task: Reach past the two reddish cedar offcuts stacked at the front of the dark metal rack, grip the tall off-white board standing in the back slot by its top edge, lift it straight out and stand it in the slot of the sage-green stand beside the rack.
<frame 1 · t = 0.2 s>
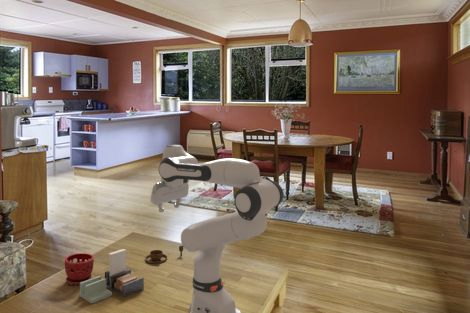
hand: (169, 209, 179), 39 cm above the table, tool pointing down, fingers open, 8 cm apart
place setting: (163, 260, 220), on the table
offcut rack: (124, 287, 187), on the table
sheet stand: (95, 295, 179), on the table
offcut lower: (126, 286, 185), point 1 cm above the table, touching offcut rack, offcut upper
tall sheet: (118, 281, 189), point 1 cm above the table, touching offcut rack
offcut upper: (126, 282, 185), point 3 cm above the table, touching offcut lower
plant pot: (80, 281, 193), on the table
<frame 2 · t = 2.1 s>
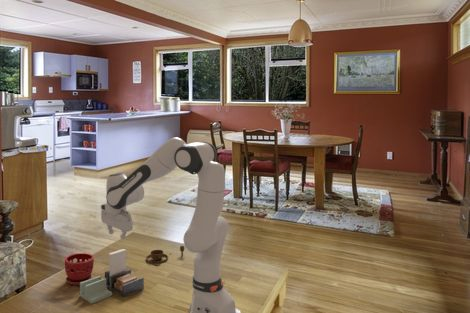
hand: (117, 236, 186), 24 cm above the table, tool pointing down, fingers open, 8 cm apart
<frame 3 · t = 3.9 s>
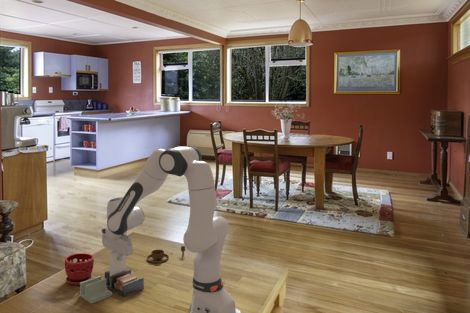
hand: (117, 259, 188), 13 cm above the table, tool pointing down, fingers closed on tall sheet, 2 cm apart
tall sheet: (118, 281, 189), point 2 cm above the table, touching gripper, offcut rack
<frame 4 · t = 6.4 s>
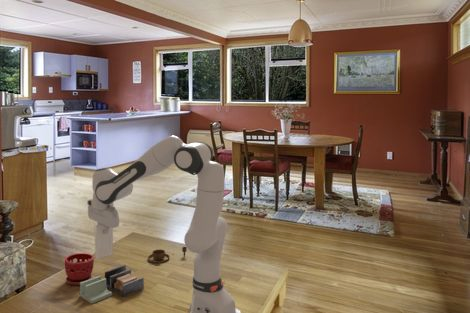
hand: (103, 232, 181), 28 cm above the table, tool pointing down, fingers closed on tall sheet
tall sheet: (104, 255, 182), point 16 cm above the table, touching gripper
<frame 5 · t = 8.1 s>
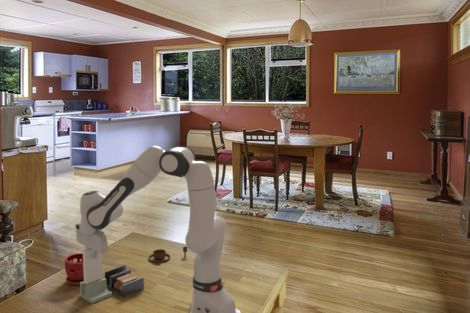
hand: (92, 256, 177), 18 cm above the table, tool pointing down, fingers closed on tall sheet
tall sheet: (93, 280, 179), point 7 cm above the table, touching gripper
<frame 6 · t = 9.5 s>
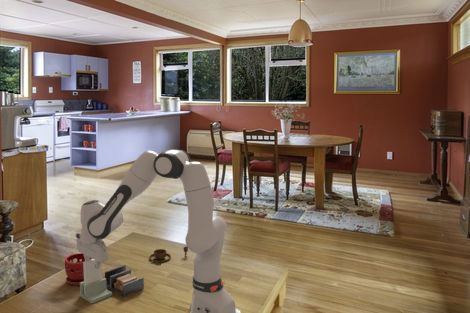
hand: (92, 265, 178), 14 cm above the table, tool pointing down, fingers open, 6 cm apart
tall sheet: (93, 291, 180), point 2 cm above the table, touching sheet stand
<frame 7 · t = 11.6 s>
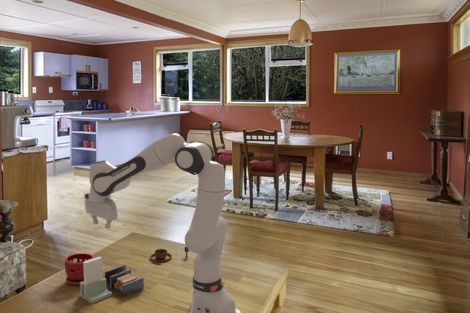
hand: (101, 225, 180), 31 cm above the table, tool pointing down, fingers open, 8 cm apart
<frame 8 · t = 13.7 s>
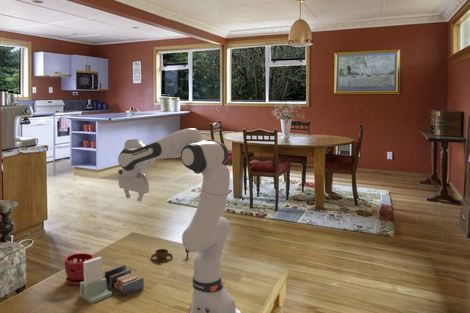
hand: (133, 199, 195), 39 cm above the table, tool pointing down, fingers open, 8 cm apart
at the end: tall sheet 0.1 cm from the target spot on the sheet stand, point 1.5 cm above the sheet stand's base; tall sheet tilted 0°; offcut upper moved 0.0 cm from its start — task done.
